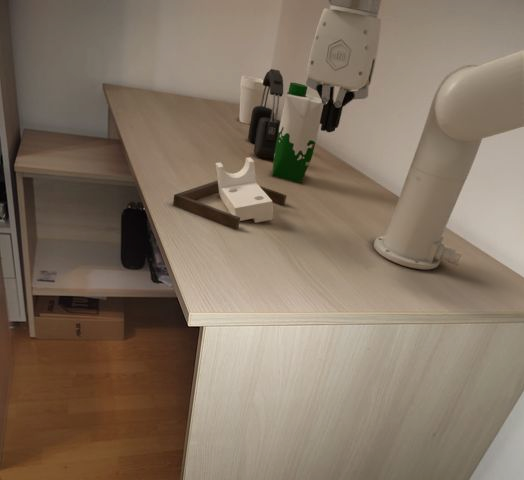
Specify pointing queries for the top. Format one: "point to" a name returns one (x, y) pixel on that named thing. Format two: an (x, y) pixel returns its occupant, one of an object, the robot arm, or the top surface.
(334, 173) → the top surface
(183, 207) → the bay
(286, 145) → the milk carton
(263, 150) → the headphones
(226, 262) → the top surface
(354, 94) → the robot arm
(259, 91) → the foam cup
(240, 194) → the bracket
